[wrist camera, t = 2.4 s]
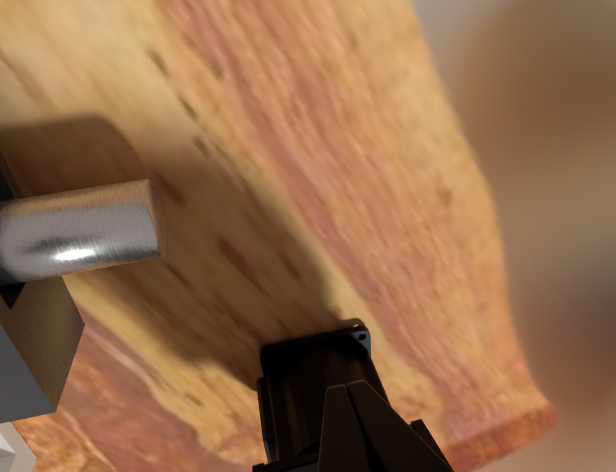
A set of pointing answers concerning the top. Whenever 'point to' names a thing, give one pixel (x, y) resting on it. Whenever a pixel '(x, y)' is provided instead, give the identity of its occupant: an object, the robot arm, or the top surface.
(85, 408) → the top surface
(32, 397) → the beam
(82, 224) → the axle
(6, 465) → the cradle
